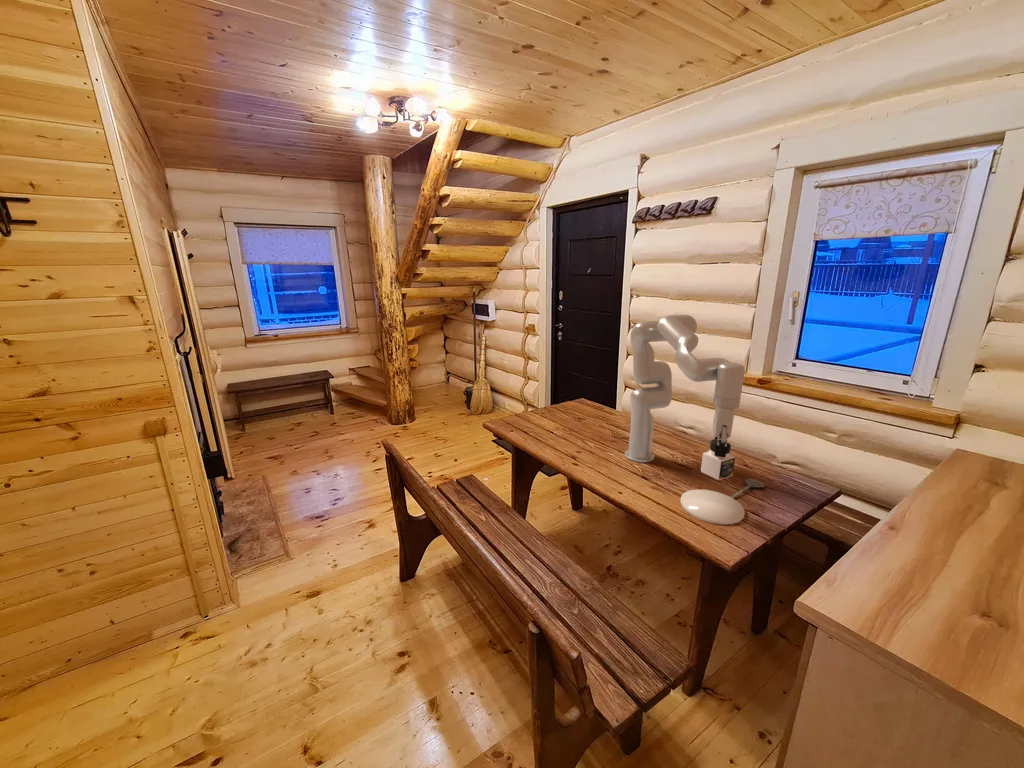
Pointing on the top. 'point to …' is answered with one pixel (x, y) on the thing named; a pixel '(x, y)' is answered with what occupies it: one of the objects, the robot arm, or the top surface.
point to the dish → (712, 507)
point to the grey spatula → (750, 485)
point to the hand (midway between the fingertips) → (719, 451)
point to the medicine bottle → (717, 462)
